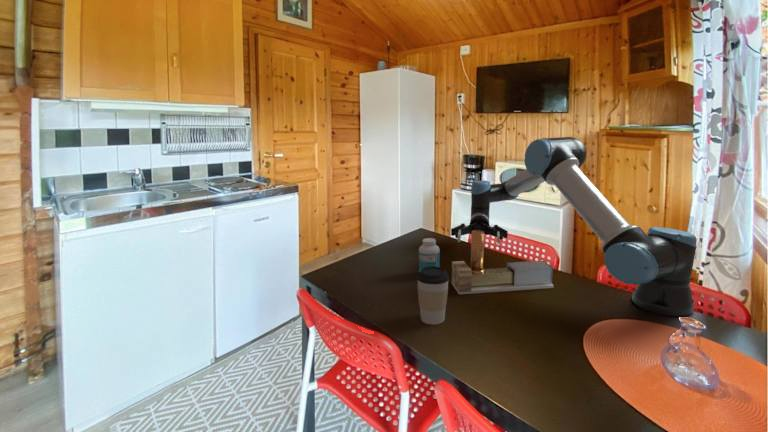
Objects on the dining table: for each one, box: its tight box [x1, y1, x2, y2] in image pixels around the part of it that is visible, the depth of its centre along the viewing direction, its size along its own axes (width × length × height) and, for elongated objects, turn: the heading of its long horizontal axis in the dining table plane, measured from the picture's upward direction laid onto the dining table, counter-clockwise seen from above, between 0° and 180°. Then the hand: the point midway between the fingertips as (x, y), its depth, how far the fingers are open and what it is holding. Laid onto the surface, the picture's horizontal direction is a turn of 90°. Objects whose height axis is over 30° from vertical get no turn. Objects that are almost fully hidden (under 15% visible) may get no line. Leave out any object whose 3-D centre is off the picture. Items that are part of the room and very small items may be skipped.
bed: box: [451, 281, 555, 295], centre depth 138 cm, size 9×32×1 cm, turn 96°
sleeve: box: [506, 260, 554, 286], centre depth 139 cm, size 7×13×7 cm, turn 96°
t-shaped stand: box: [469, 230, 514, 286], centre depth 135 cm, size 5×20×18 cm, turn 96°
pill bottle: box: [418, 237, 441, 273], centre depth 147 cm, size 8×7×14 cm
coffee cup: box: [416, 266, 450, 325], centre depth 116 cm, size 9×9×15 cm
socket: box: [451, 260, 472, 292], centre depth 136 cm, size 9×4×7 cm, turn 6°
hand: (478, 239), depth 144 cm, fingers open, 13 cm apart
